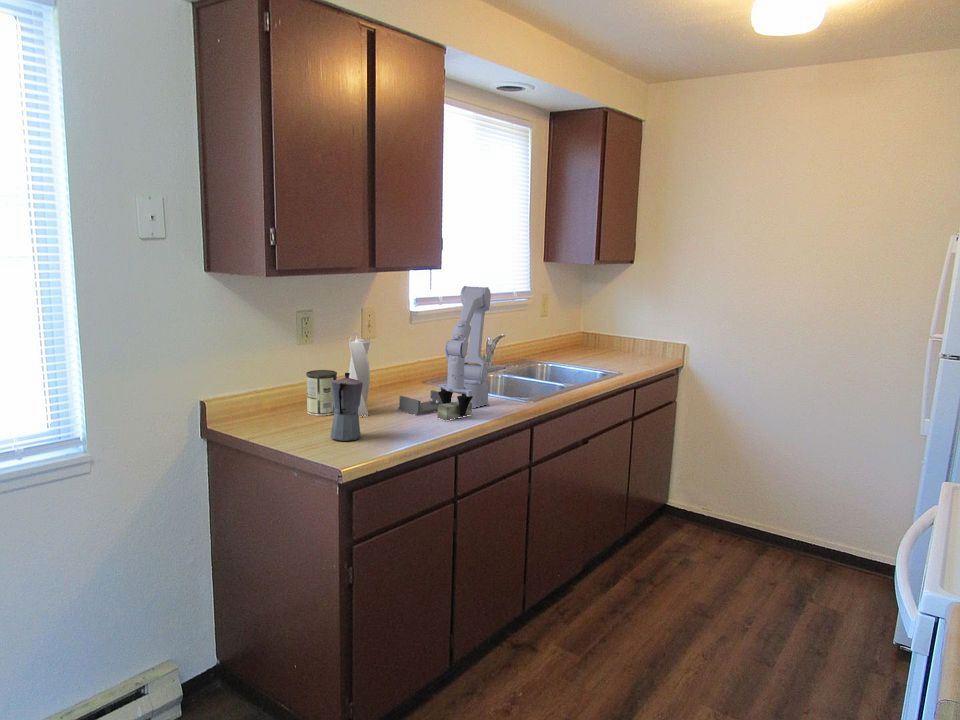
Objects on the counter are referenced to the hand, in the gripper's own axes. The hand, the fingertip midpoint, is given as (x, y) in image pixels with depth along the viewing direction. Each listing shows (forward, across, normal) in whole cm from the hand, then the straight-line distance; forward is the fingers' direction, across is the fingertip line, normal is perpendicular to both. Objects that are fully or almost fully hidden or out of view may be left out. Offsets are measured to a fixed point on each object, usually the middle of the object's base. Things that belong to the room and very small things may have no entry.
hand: (454, 413), depth 230 cm
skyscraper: (+2, -24, -23) cm, 33 cm away
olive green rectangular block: (+2, 0, 0) cm, 2 cm away
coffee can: (+2, -34, -31) cm, 46 cm away
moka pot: (+2, -3, -43) cm, 43 cm away
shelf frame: (+1, -15, 0) cm, 15 cm away
